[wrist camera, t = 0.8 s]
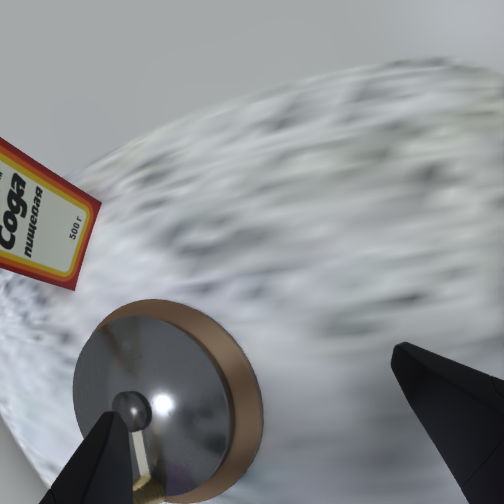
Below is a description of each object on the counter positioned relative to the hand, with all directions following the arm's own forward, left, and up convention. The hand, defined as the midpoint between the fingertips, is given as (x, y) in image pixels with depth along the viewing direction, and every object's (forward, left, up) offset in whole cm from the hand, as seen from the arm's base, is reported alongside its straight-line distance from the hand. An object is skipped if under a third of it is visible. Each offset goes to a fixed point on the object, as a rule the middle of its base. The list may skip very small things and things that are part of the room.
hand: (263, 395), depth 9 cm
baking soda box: (+22, +17, -12) cm, 30 cm away
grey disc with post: (+2, +12, -11) cm, 16 cm away
